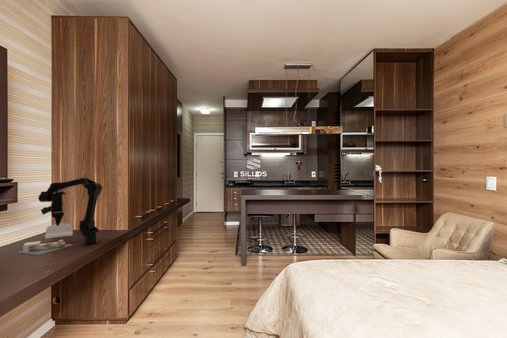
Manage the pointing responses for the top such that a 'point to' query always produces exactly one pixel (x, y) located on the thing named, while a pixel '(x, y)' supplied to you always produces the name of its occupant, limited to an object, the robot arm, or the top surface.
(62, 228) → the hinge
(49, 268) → the top surface
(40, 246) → the link
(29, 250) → the pintle base
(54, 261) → the top surface
